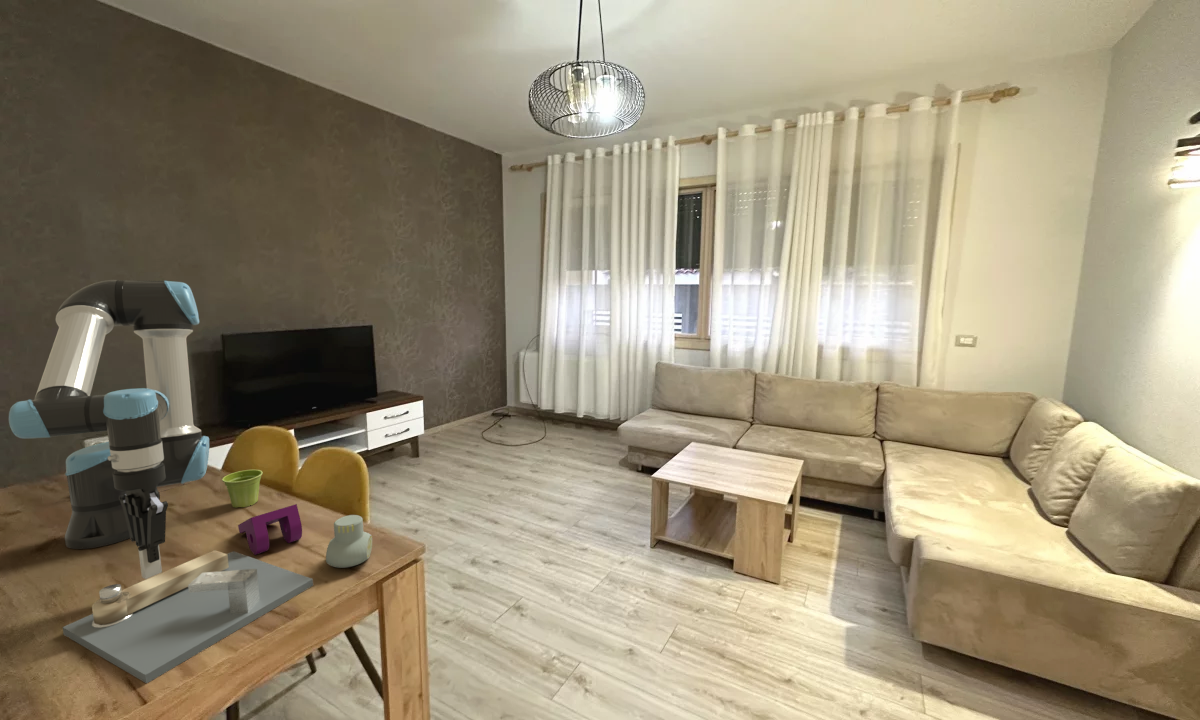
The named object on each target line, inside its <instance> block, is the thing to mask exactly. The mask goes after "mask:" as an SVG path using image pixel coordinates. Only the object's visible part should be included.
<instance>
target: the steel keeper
mask: <svg viewBox="0 0 1200 720" xmlns="http://www.w3.org/2000/svg"><path fill="white" fill-rule="evenodd" d="M188 590H189V593H191V592H204V591H217V590H228V594H229V604H230V614H239V613H248V612H249V611H250V610H251V609H252V608H253V606H254V605H255V604H256V603H257V602H258V601H259V600H260V598H259V587H258V576H257V569H246V570H232V571H219V572H205V573H201V574H200V575H199V576H198V577H197V578H196V579H195V580H193V581H192V582H191V583H190V584H189V585H188Z"/></svg>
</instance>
